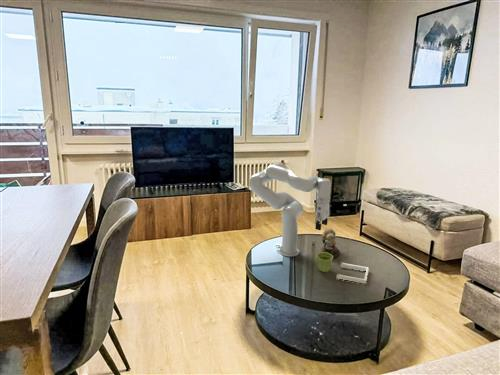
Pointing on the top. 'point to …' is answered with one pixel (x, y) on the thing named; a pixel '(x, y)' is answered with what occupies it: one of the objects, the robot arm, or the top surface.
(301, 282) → the top surface
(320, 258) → the plant pot
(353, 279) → the white u-shaped block
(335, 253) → the seated figurine
